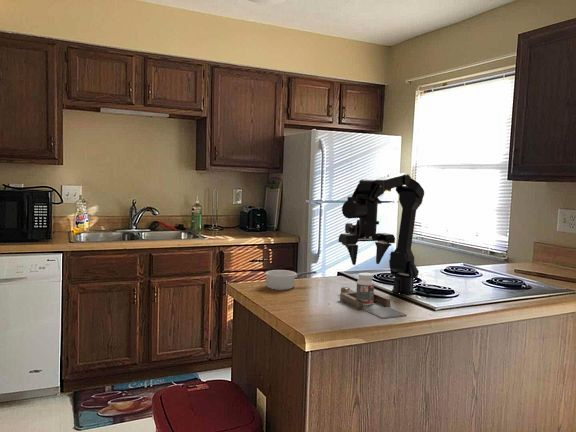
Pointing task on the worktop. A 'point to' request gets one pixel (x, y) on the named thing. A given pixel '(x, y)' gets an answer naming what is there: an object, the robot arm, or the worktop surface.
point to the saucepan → (283, 279)
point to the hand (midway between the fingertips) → (365, 264)
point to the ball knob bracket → (350, 299)
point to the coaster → (386, 312)
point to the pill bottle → (365, 288)
